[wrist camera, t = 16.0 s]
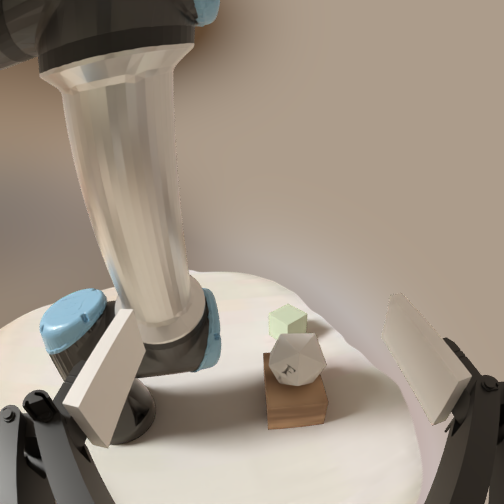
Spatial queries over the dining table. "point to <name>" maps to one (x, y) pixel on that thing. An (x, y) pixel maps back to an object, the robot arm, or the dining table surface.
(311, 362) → the die
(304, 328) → the green cube
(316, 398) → the plinth
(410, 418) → the dining table surface
